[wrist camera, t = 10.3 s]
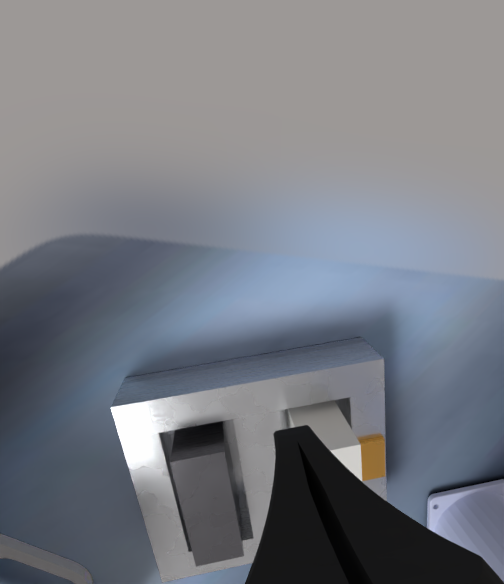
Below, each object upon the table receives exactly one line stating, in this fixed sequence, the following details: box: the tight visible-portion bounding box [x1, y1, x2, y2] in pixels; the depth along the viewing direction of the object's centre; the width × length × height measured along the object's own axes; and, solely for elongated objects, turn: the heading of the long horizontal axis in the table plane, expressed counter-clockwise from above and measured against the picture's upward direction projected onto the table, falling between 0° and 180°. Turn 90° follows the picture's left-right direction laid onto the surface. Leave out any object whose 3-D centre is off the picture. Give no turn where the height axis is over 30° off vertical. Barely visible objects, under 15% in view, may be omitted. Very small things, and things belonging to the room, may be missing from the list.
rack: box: [111, 337, 387, 583], centre depth 22 cm, size 14×16×5 cm
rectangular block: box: [285, 400, 362, 481], centre depth 21 cm, size 8×3×6 cm, turn 8°
